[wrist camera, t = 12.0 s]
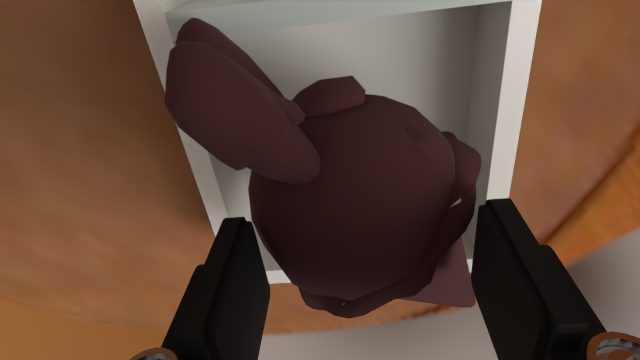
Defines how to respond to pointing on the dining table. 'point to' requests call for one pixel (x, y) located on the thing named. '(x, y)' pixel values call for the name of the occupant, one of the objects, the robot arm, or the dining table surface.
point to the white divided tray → (372, 73)
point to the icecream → (333, 178)
